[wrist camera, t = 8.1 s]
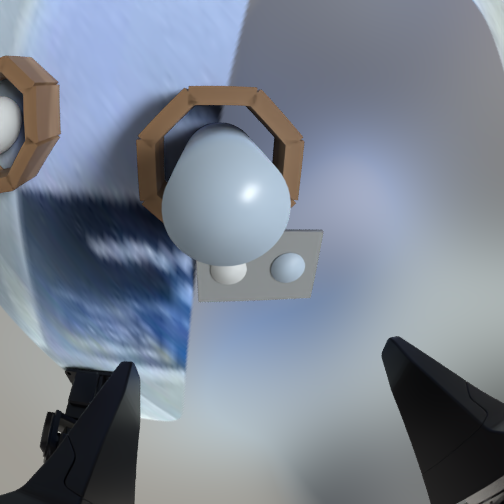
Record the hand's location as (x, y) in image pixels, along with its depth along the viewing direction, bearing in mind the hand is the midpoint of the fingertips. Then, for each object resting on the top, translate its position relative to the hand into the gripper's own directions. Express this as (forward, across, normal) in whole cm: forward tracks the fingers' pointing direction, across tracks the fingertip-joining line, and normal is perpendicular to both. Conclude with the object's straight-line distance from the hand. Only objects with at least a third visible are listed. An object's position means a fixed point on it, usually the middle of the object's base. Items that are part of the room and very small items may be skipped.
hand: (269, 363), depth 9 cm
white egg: (+12, +16, -8) cm, 22 cm away
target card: (+12, -2, +4) cm, 13 cm away
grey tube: (+12, +1, -4) cm, 13 cm away
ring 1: (+12, +16, -8) cm, 22 cm away
